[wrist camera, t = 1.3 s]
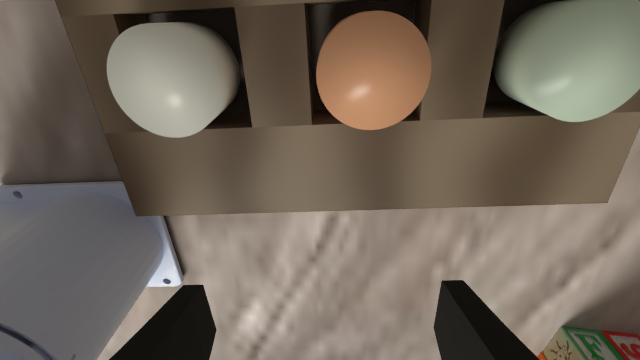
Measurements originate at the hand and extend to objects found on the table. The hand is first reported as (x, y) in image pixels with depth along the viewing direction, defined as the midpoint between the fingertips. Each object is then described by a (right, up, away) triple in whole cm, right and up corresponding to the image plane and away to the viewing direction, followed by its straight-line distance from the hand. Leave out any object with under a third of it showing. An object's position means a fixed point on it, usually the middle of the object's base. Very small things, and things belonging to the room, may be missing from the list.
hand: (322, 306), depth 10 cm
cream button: (-6, +9, +4) cm, 11 cm away
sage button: (+9, +9, +4) cm, 14 cm away
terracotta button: (+2, +9, +4) cm, 10 cm away
